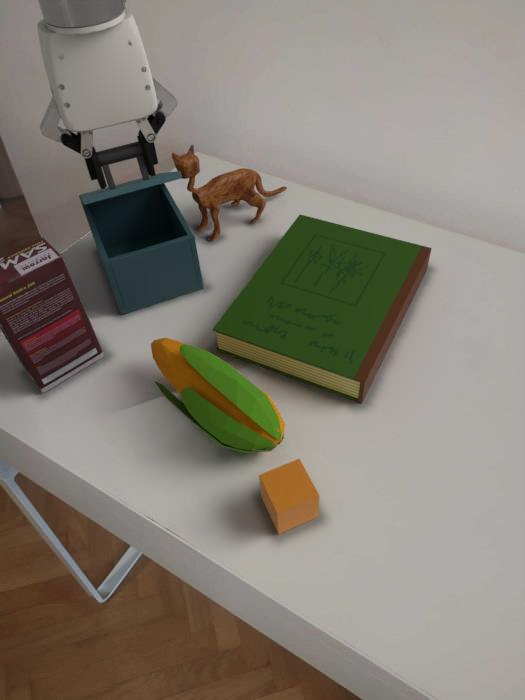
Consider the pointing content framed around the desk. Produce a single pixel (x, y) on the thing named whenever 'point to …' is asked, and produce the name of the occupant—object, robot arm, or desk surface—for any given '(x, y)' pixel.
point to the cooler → (144, 247)
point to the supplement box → (45, 315)
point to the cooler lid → (115, 190)
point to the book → (325, 305)
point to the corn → (218, 398)
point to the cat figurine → (222, 189)
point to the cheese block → (289, 496)
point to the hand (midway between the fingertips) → (125, 175)
